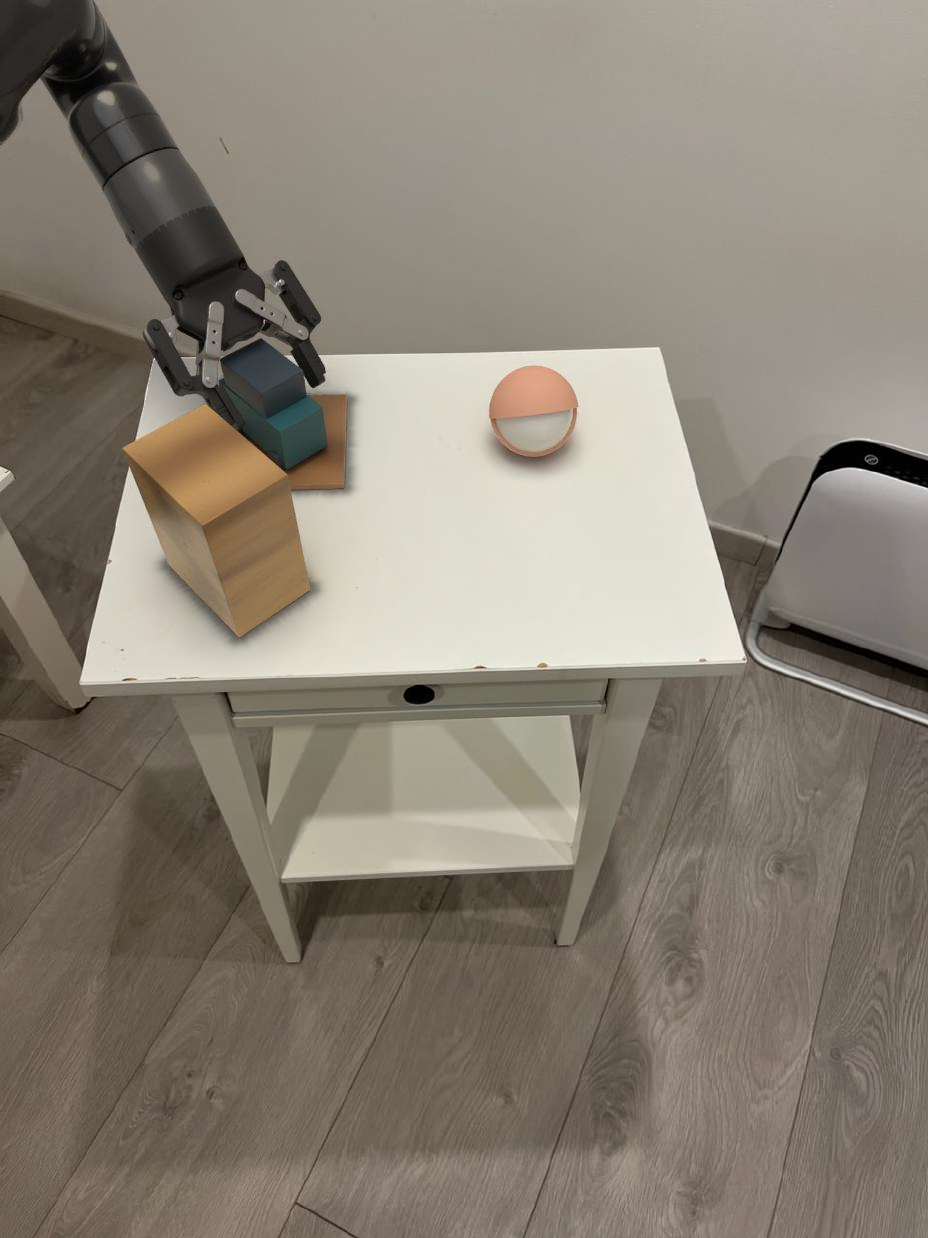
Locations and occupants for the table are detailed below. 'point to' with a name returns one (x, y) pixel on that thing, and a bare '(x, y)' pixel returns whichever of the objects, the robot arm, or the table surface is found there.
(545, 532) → the table surface
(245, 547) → the wooden block
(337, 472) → the mat
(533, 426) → the toy ball
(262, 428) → the toy van
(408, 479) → the table surface
